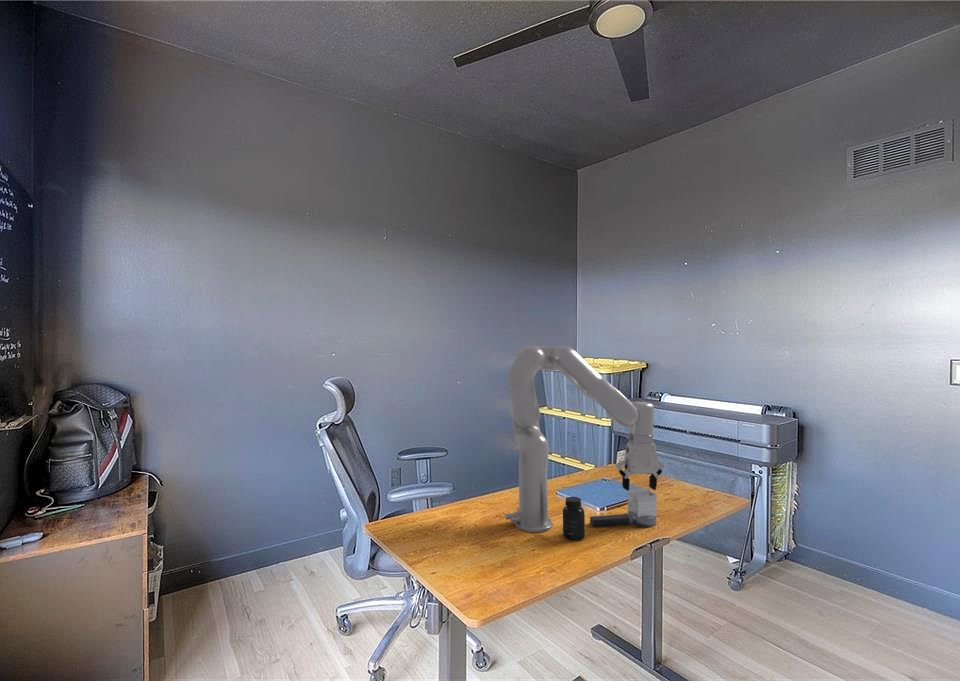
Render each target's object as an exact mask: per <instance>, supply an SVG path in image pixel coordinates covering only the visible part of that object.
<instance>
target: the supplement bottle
mask: <svg viewBox="0 0 960 681" xmlns="http://www.w3.org/2000/svg"><path fill="white" fill-rule="evenodd" d="M564 504H565V506H564V507H562V535H563V536H562V537H564V539H566V540H568V541H570V542H571V541H572V542H580V541H582V540H584V539H585V537H586V531H585V530H586V527H585V526H586V525H585V524H586V520H585V509H584V508H583V507H582V499H581V498H580V497H578V496H567V497H566V498H565V503H564Z"/></svg>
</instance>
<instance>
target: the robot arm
mask: <svg viewBox="0 0 960 681" xmlns="http://www.w3.org/2000/svg"><path fill="white" fill-rule="evenodd" d="M539 370H545V371H546V370H548V371H551V370H558V371H559V372H560V373H562V375H563V376H564V377H565V378H567V379H568V380H569V382H570V383H571V384H572V385H574V387H576V388H577V389H578V390H579V391H580V393H582V394H583V395H584V396H586V397H588V399H591V400H592V401H594V402H595V403H597V404H598V405H599V406H600V407H601V408H603V409H604V410H605V414H606V416H607V418H608V419H609V420H611V421H612V422H614V423H617V424H618V425H620V426H622V427H627V428H628V427H629V434H627V435H626V436H625V438H626V440H627V444H626V448H625V453H624V459H622V460H621V461H619V462H617V463H616V464H615V467H616V469H617V472H618V473H619V474H620V476H621V477H622V478H621V479H622V482H621V483H622V484H621V485H622V488H623V489H624V490H626V491H627V492H628V490H630V483H631V482H630V476H631V475H632V474H633V475H648V474H649V481H648V482H649V484H648V487H649V488H650V489H652V490H653V491H656V490H657V486H658V478H659V477H660V476H661V474H662V473H663V471H664V468H665V466H666V465H665V464H664V463H662V462H661V461H659V460H658V453H657V446H656V443H654V423H655V422H654V420H655V418H654V417H655V406H654V404H653V403H650V402H647V401H630V400H629V399H628V398H627V397H626V396H625V395H623V394H622V393H621V392H620V390H618V389H617V388H616V387H615V386H613V385H612V384H611V383H610V382H609V381H608V380H607V379H606V378H605V377H604V376H602V375H601V374H600V373H599V372H598V371H597V370H596V369H595V368H593V366H592V365H591V364H590V363H589V362H587V360H585V359H584V358H583V356H582V355H580V354H579V353H578V352H577V350H575V349H573V348H572V347H570V346H566V345H565V346H564V345H555V346H554V345H551V346H550V345H547V346H546V345H525V346H523V347H521V348H520V349H519V350H518V352H517V354H516V357H515V359H514V361H513V362H512V364H511V366H510V368H509V371H508V379H507V380H508V388H509V394H510V401H511V403H510V406H509V416H510V420H511V421H510V422H511V426H512V431H513V434H514V435H513V436H514V440H515V443H516V446H517V448H518V450H519V452H518V453H519V460H518V508H517V509H516V511H515V512H514V513H513V512H512V513H509V512H508V513H505V514H504V518H505V520H506V521H507V520H510V522H513V523H514V526H515V527H516V528H517V529H519V530H521V531H524V532H529V533H541V532H546V531H548V530H550V529H552V527H553V520H552V519H551V518H549V517H548V516H549V515H548V514H549V513H548V511H549V510H548V507H549V506H548V503H549V502H548V496H549V495H548V492H549V491H548V465H549V463H548V462H549V454H550V448H549V443H548V440H547V438H546V437H545V435H544V434H543V433H542V432H541V427H540V422H539V421H540V418H541V410H540V406H539V402H538V401H539V400H538V397H537V392H536V386H535V376H536V375H537V372H538V371H539ZM623 468H624V470H623Z"/></svg>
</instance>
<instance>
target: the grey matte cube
mask: <svg viewBox="0 0 960 681" xmlns="http://www.w3.org/2000/svg"><path fill="white" fill-rule="evenodd" d="M657 496H658V495H657V494H655V493H654V492H652V491H650V490H649V489H648V488H638V489H637V488H636V489H629V490H628V491H627V511H630V512H631V513H633V514H634V515H635V516H636V517H638V518H639V517H652V516H656V517H657V516H658V513H657V511H658V509H657V508H658V506H657V504H658V503H657V501H658V500H657V498H658V497H657Z"/></svg>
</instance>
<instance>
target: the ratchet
mask: <svg viewBox="0 0 960 681" xmlns="http://www.w3.org/2000/svg"><path fill="white" fill-rule="evenodd" d="M589 524H590V526H591V527H593V528H606V527H619V526H621V527H622V526H635V527H640V528H653V527H655V526H657V516H652V517H639V518H638V517H636V516H635V515H634V514H633V513H631V512H630V511H629V510H627V512H626V513H625V512H624V513H623V514H608V515H607V514H606V515H594V516H593V515H592V516H589Z"/></svg>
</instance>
